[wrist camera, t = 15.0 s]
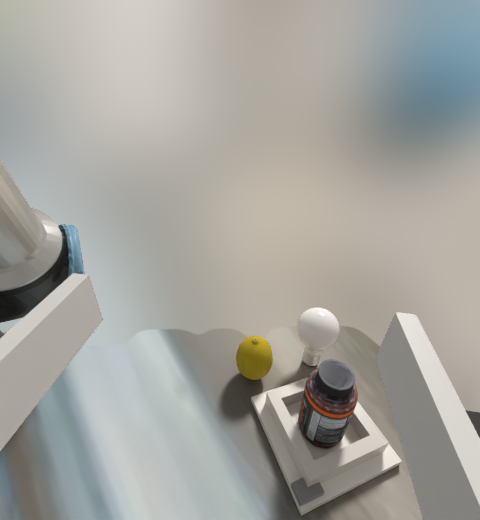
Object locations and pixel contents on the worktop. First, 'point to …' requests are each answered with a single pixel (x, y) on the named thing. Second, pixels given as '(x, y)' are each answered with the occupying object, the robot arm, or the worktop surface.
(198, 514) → the worktop surface
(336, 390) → the supplement bottle
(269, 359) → the lemon
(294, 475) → the socket
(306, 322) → the lightbulb
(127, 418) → the worktop surface
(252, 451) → the worktop surface
